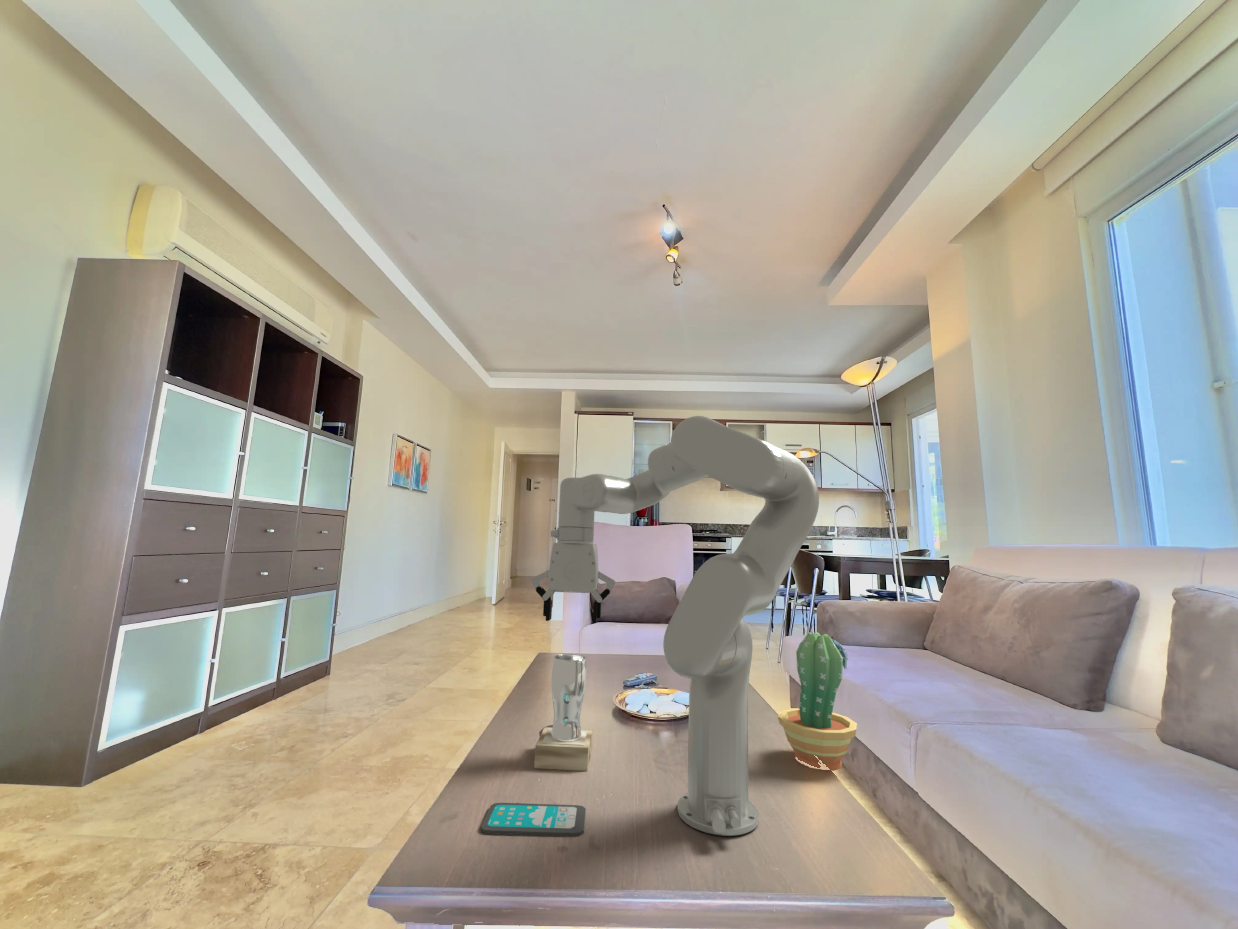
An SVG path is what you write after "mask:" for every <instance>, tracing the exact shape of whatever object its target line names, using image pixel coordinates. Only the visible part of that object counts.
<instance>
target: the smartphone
mask: <svg viewBox="0 0 1238 929" xmlns="http://www.w3.org/2000/svg"><path fill="white" fill-rule="evenodd" d="M586 809H587V808H586V807H585V806H582V805H577V804H576V805H575V804H554V803H552V804H551V803H549V804H548V803H523V802H522V803H521V802H495V803H492V804H491V805H490V806H489V808H488V811H486V812H487V813H486V815H485V817H484V819H483V821H482V824H481V825H480V832H481V833H482V834H484V835H494V836H531V837H532V836H533V837H534V836H535V837H567V838H568V837H580V836H582V835H583V834H584V831H585V820H586V811H587V810H586Z"/></svg>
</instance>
